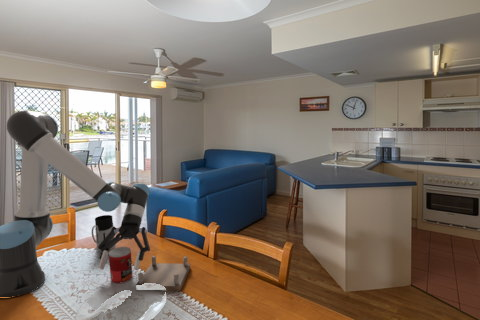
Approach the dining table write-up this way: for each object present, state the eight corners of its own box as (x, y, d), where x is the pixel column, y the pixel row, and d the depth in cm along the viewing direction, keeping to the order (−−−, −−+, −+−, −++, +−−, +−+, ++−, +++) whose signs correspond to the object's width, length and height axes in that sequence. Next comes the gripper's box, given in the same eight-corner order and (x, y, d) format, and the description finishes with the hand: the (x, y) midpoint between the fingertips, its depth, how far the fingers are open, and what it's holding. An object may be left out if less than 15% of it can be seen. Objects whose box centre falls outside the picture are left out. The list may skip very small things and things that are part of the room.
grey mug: (119, 243, 139) (117, 214, 138) (103, 256, 125) (101, 224, 124) (102, 243, 140) (100, 214, 138) (84, 256, 126) (82, 224, 124)
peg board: (135, 290, 99) (134, 276, 99) (152, 267, 115) (151, 255, 114) (179, 291, 98) (179, 276, 98) (190, 268, 114) (189, 255, 114)
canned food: (125, 284, 103) (123, 256, 102) (106, 282, 105) (103, 254, 103) (136, 273, 111) (135, 247, 109) (118, 272, 112) (116, 245, 111)
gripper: (164, 221, 120) (153, 272, 107) (108, 221, 122) (90, 271, 109) (159, 213, 114) (147, 266, 101) (100, 213, 116) (81, 265, 103)
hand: (118, 269), depth 105 cm, fingers open, 13 cm apart
